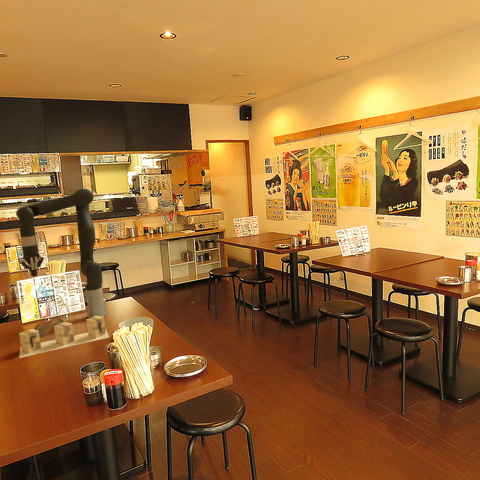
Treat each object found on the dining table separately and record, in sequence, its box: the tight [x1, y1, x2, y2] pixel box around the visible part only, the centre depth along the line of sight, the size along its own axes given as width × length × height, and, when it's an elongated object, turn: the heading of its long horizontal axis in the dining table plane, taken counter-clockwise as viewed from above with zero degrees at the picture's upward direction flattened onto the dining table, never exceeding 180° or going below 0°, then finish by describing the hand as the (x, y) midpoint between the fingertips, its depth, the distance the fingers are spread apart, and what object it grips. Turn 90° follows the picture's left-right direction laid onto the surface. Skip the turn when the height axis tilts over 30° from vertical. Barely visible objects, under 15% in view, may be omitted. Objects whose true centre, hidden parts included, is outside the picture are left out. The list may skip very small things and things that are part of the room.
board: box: [18, 328, 110, 359], centre depth 195 cm, size 40×14×1 cm, turn 116°
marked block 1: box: [86, 316, 107, 338], centre depth 200 cm, size 6×6×9 cm
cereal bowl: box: [118, 316, 154, 330], centre depth 198 cm, size 17×17×7 cm
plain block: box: [54, 321, 75, 345], centre depth 194 cm, size 6×6×9 cm
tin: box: [34, 317, 65, 339], centre depth 207 cm, size 15×3×8 cm, turn 143°
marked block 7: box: [18, 328, 41, 353], centre depth 187 cm, size 6×6×9 cm
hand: (34, 276), depth 210 cm, fingers closed
